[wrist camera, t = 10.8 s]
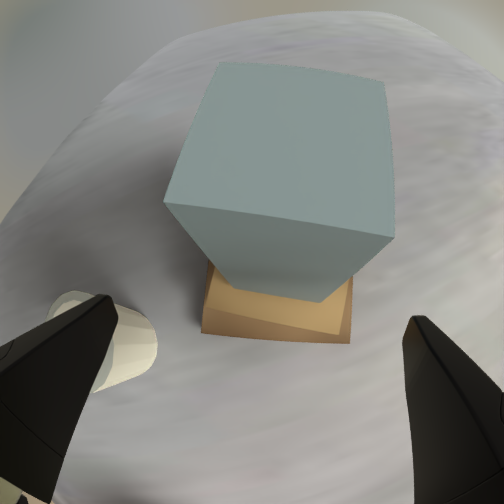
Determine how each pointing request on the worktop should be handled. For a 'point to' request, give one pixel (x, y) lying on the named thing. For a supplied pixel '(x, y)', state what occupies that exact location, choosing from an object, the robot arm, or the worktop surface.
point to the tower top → (278, 306)
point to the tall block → (287, 178)
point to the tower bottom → (270, 323)
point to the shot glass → (117, 342)
